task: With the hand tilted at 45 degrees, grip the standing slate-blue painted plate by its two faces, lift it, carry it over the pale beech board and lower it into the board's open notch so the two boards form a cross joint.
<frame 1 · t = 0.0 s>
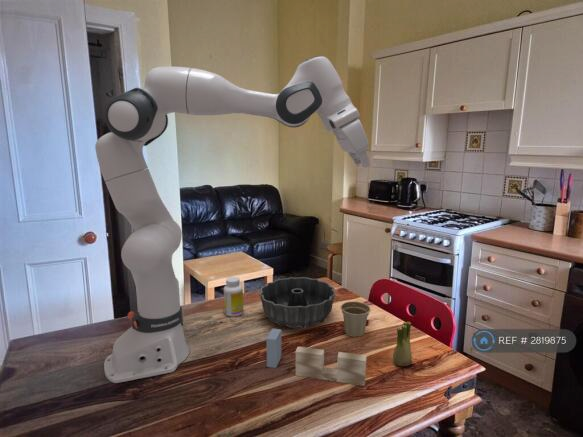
hand: (363, 165, 100), 54 cm above the table, tool tilted 30°, fingers open, 8 cm apart
fennel bulb: (401, 363, 105), on the table
bundt pan: (297, 317, 133), on the table
blue plate: (274, 361, 106), on the table
flower pot: (354, 332, 122), on the table
beech slot board: (330, 377, 98), on the table
supplement bottle: (234, 313, 135), on the table
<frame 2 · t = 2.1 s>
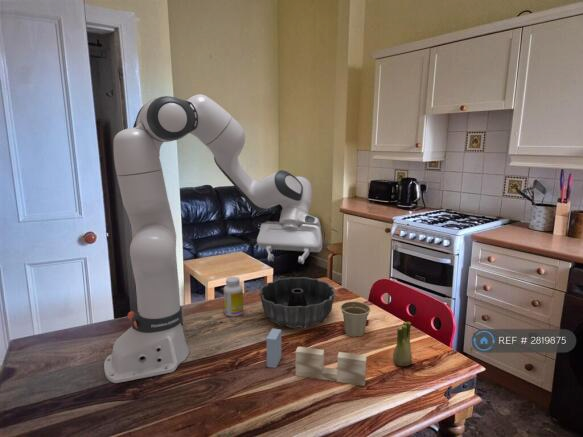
hand: (285, 261, 112), 25 cm above the table, tool tilted 45°, fingers open, 8 cm apart
nothing on the table moved.
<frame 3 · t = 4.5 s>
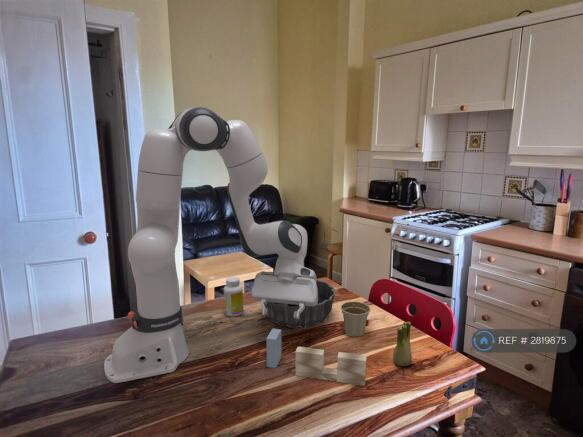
hand: (280, 316, 110), 10 cm above the table, tool tilted 45°, fingers open, 8 cm apart
nothing on the table moved.
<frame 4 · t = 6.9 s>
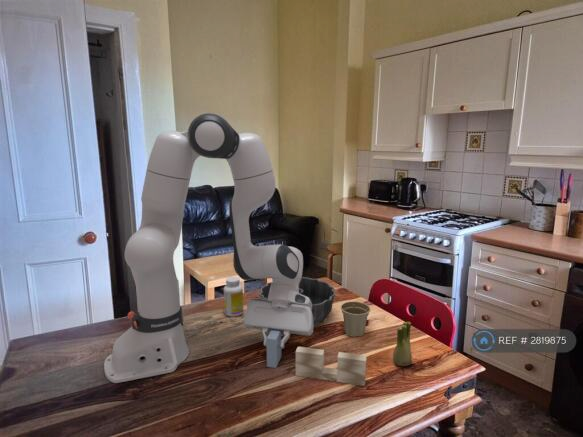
hand: (273, 346, 104), 5 cm above the table, tool tilted 45°, fingers closed on blue plate, 3 cm apart
blue plate: (274, 361, 106), on the table, touching gripper
everything else where it was.
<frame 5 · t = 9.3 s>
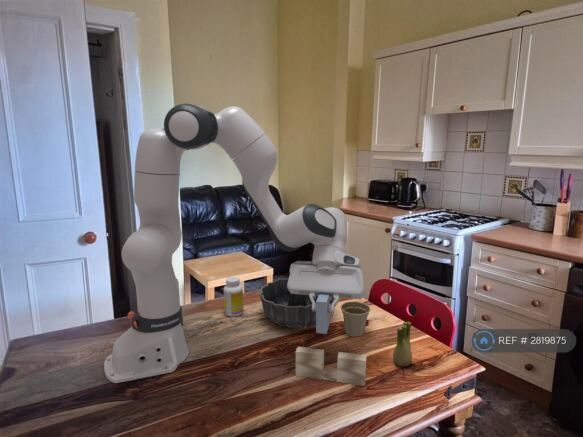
hand: (322, 311, 96), 18 cm above the table, tool tilted 45°, fingers closed on blue plate, 3 cm apart
blue plate: (323, 327, 97), point 13 cm above the table, touching gripper
everything else where it was.
when the fingers open (9 cm above the table, at t = 11.7 s): blue plate drops 2 cm, resting on beech slot board.
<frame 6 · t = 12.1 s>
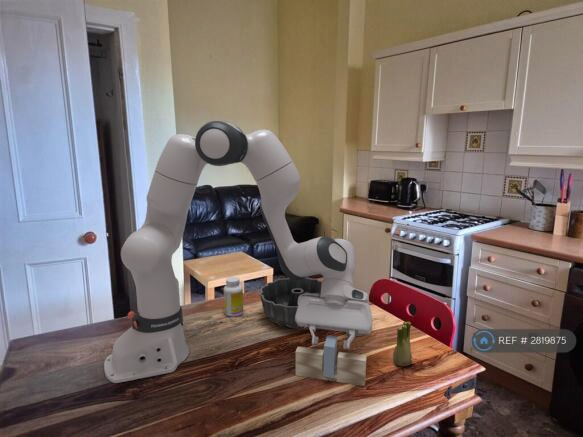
hand: (330, 346, 96), 9 cm above the table, tool tilted 45°, fingers open, 7 cm apart
blue plate: (329, 370, 98), point 2 cm above the table, touching beech slot board
everything else where it was.
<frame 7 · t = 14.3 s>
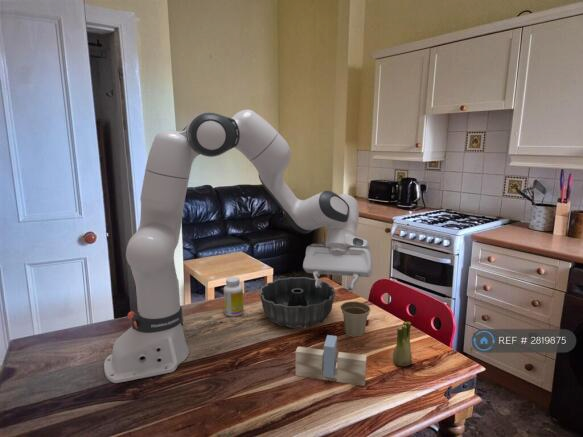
hand: (334, 288, 107), 20 cm above the table, tool tilted 40°, fingers open, 8 cm apart
nothing on the table moved.
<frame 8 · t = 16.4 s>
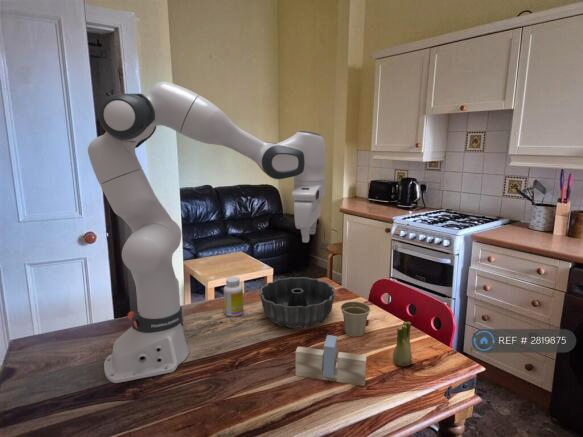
hand: (309, 237, 109), 33 cm above the table, tool pointing down, fingers open, 8 cm apart
nothing on the table moved.
at the end: blue plate 0.1 cm off-centre on the beech slot board, point 2.0 cm above the beech slot board's base; blue plate tilted 0°; the gripper is holding nothing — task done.
